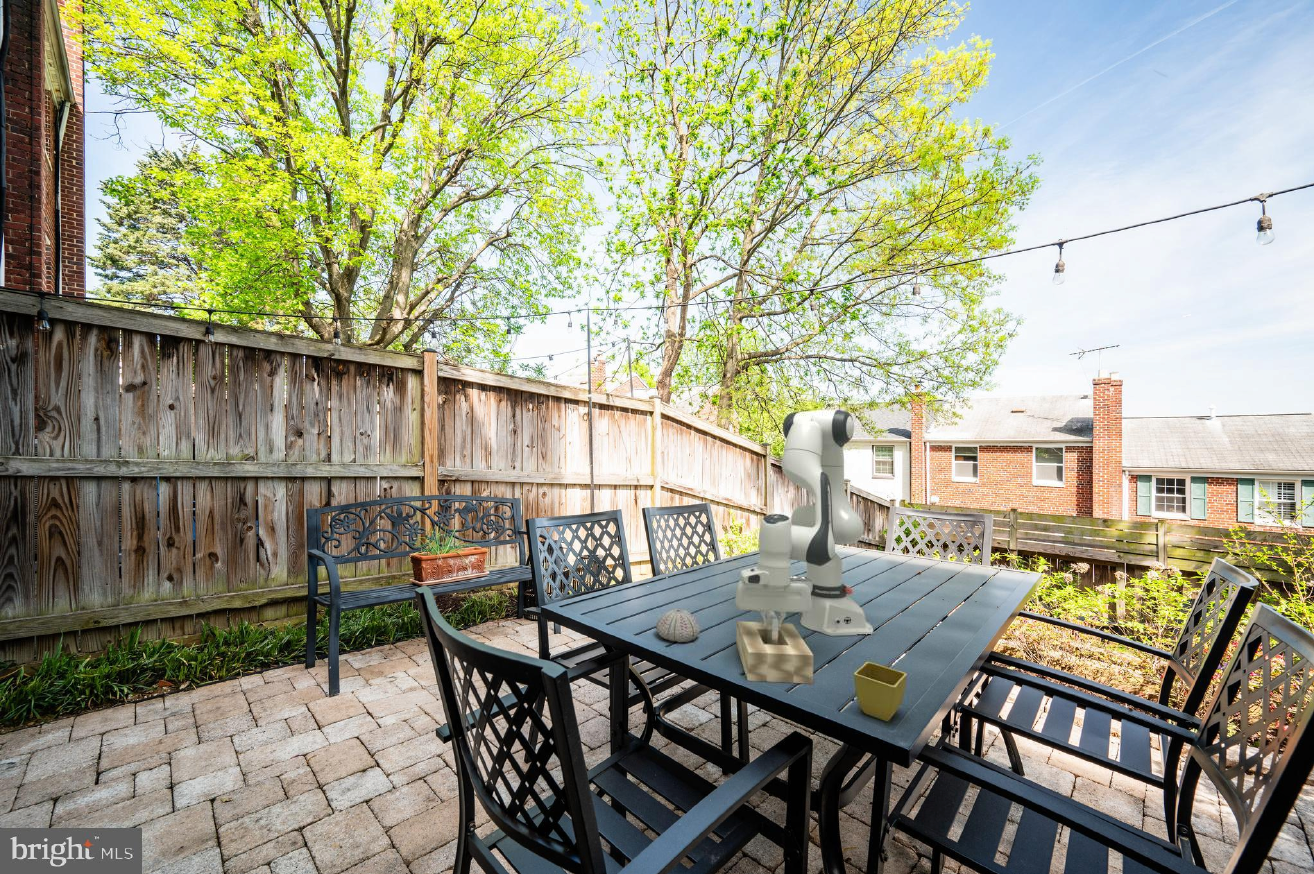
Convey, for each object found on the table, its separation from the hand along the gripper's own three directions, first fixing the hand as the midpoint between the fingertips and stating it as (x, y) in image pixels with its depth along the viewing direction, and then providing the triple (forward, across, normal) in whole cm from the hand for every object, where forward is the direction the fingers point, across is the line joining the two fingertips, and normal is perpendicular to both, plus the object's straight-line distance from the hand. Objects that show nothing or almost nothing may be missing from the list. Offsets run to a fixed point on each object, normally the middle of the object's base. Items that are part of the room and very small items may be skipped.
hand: (772, 626), depth 136 cm
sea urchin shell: (+10, +25, -16) cm, 31 cm away
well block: (+10, 0, 0) cm, 10 cm away
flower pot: (+10, -19, +24) cm, 32 cm away
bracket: (+7, 0, 0) cm, 7 cm away
